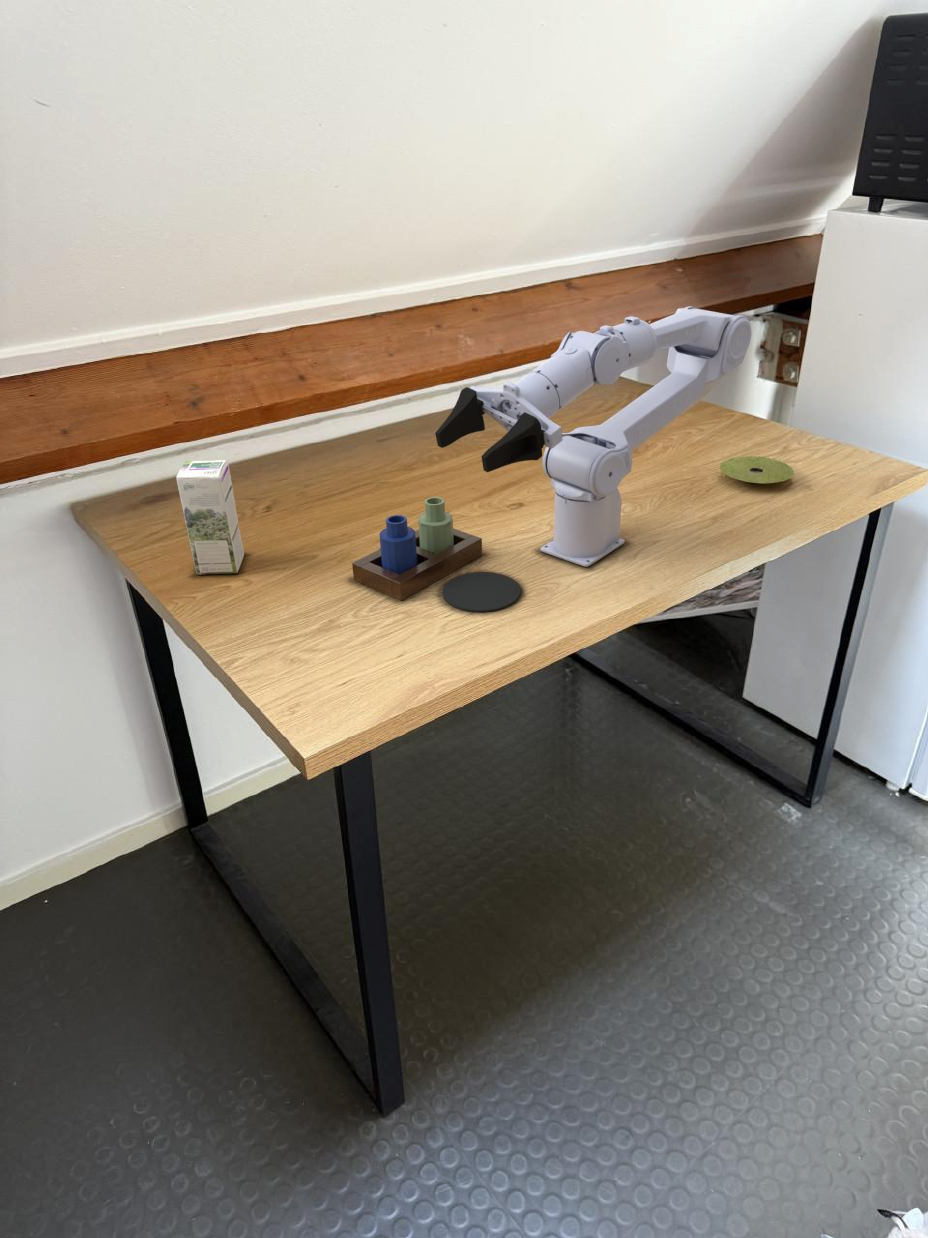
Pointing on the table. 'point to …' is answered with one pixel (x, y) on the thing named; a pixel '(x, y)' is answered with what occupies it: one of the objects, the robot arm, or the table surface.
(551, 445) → the robot arm
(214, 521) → the syrup box
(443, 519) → the sage bottle
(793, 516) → the table surface
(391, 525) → the blue bottle
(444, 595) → the coaster
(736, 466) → the mat
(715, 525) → the table surface
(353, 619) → the table surface
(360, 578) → the bottle rack
